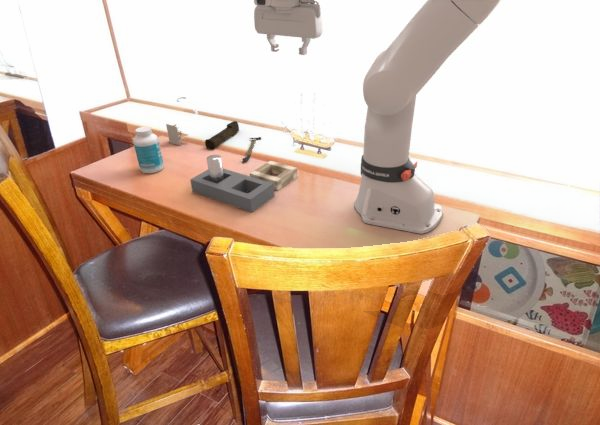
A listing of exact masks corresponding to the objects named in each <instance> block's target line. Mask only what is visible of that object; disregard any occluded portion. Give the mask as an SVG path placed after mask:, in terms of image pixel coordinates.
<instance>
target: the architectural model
mask: <svg viewBox="0 0 600 425" xmlns="http://www.w3.org/2000/svg"><path fill="white" fill-rule="evenodd" d="M165 125H166V126H165V127H166V130H167V134H168V135H167V136H168V140H169V143H171V144H173V145H176V146H179V147H181V140H180V139H184V138H186V137H188V136H189V134H187V133H184V132H182V131H181V130H179V128H180V127H179V126H178V127H177V124H174V125H172V124H169V123H166V124H165Z"/></svg>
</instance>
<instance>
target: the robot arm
mask: <svg viewBox="0 0 600 425" xmlns="http://www.w3.org/2000/svg"><path fill="white" fill-rule="evenodd" d="M501 1H502V0H426V2H425V3H424V4H423V5H422V6H421V8H420V9H419V10H418V11H417V12H416V13H415V14H414V16H413V17H412V18H411V19H409V20H410V21H409V22H408V23H407V24H406V25H405V26H404V28H403V29H402V30H401V31H400V32H399V34H398V35H397V36H396V37H395V39H394V40H393V41H391V42H392V43H390V45H389V46H388V47H387V49H385V50H384V51H382V52H381V53H379V54H378V55H377V57H376V58H375V59H374V61H373V63H372V64H371V66H370V68H369V69H368V71H367V72H366V75H365V76H364V80H363V82H362V83H363V84H362V93H363V100H364V102H365V104H366V106H367V112H366V118H365V123H364V131H363V132H364V135H363V153H362V155H361V160H360V175H361V178H360V185H359V189H358V193H357V196H356V199H355V201H354V208H355V211H356V212H357V213H358V214H359V215H360V216H361V221H362V222H363V223H365V224H369V225H373V226H378V227H379V226H380V227H384V228H389V229H394V230H400V231H405V232H410V233H415V234H420V235H421V234H427V233H428V232H430V231H432V230H433V229H435V228H436V227H437V226H438V225H439V223H440V222H441V220H442V218H443V208H442V206H441V205H440V204H438V203H435V194H434V191H433V189H432V188H431V187H430V186H429V185H427V184H426V182H424V181H423V180H422V179H421V178H420V177H419V176H418V175H417V174H416V173H415V172H416V168H417V166H418V161H416V162H414V163H413V162H412V161H411V159H410V148H411V139H412V129H413V123H414V122H413V121H414V117H415V116H414V115H415V106H416V101H417V100H416V98H417V94H418V93H419V92H420V91H421V90H422V89H423V87H424V86H426V84H427V83H428V82H429V81H430V80H431V78H432V77H433V76H434V75H435V74H436V73H437V71H439V69H440V68H441V67H442V65H443V64H444V63H445V62H446V61H447V59H448V58H449V57H450V56H451V55H452V54H453V53H454V52H455V51H456V50H457V49H458V47H460V45H462V44H463V43H464V42H465V41H466V40H467V39H468V38H469V36H470V35H471V34H472V33H474V32H475V30H476V29H478V28H479V27H480V25H481V24H482V23H483V22H484V21H485V20H486V19H488V17H489V16H490V14H492V12H493V11H494V10H495V9H496V7H498V5H499V4H500V2H501ZM253 3H254V5H255V7H254V11H253V13H254V14H253V22H254V29H255V31H256V33H257V34H261V35H266V40H267V42H268V43H269V45H270V51H271V52H272V53H273V52H275V53H277V52H279V51H280V49H279V46H280V45H279V43H276V40H275V38H276V36H282V37H292V38H293V37H294V38H301V42H302V45H301V47H299V48H298V55H300V56H305V55H307V54H308V46H309V45H310V43H311V39H312V40H313V39H318V38H320V37H321V36H322V34H323V22H322V8H321V7H322V6H321V4H320V3H319V1H318V0H253Z"/></svg>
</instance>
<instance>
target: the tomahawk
mask: <svg viewBox="0 0 600 425" xmlns="http://www.w3.org/2000/svg"><path fill="white" fill-rule="evenodd" d="M261 140H262V137H261V136H258V137H249V141H250V142H251V143H250V145H249V147H248V149H247V152H246V153H245V157H243V158H242V162H243V163H244V162H245V163H247V162H248V161H249V159H250V158H251V156H252V153H253V150H254V148H255V145H254V144H256V142H257V141H261ZM252 149H253V150H252Z"/></svg>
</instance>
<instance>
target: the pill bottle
mask: <svg viewBox="0 0 600 425" xmlns="http://www.w3.org/2000/svg"><path fill="white" fill-rule="evenodd" d="M132 142H133V147H134V151H135V155H136V158H137V162H138V163H137V164H138V167H139V170H140V172H142V173H144V174H155V173H158V172H161V171H162V170H163V169H164V167H165V164H164V159H163V155H162V151H161V145H160V142H159V138H158V136H157V135H156V134H155V133H153V131H152V127H151V126H139V127H138V128H136V129H135V137H133V140H132Z"/></svg>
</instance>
